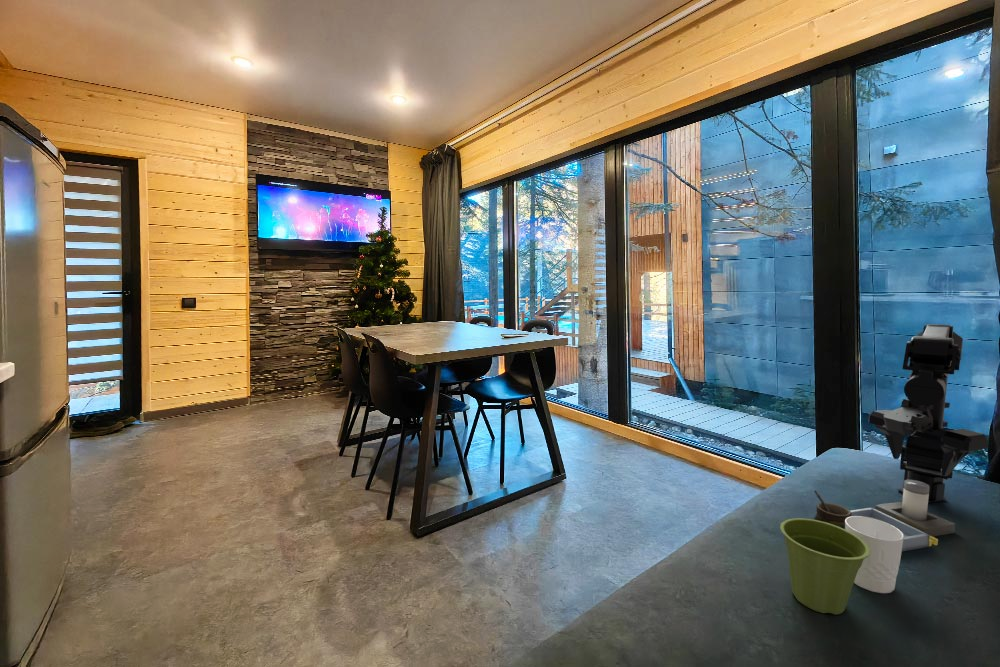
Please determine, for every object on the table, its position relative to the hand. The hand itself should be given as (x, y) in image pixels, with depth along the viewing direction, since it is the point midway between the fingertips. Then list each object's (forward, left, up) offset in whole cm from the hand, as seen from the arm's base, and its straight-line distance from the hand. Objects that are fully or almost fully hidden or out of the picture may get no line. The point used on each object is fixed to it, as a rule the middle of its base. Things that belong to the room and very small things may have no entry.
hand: (919, 466), depth 95 cm
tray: (+2, -12, -13) cm, 17 cm away
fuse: (0, 0, -13) cm, 13 cm away
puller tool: (+3, -6, -13) cm, 14 cm away
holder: (0, 0, -13) cm, 13 cm away
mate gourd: (+3, -26, -13) cm, 29 cm away
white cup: (+13, -29, -13) cm, 34 cm away
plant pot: (+15, -42, -13) cm, 46 cm away
